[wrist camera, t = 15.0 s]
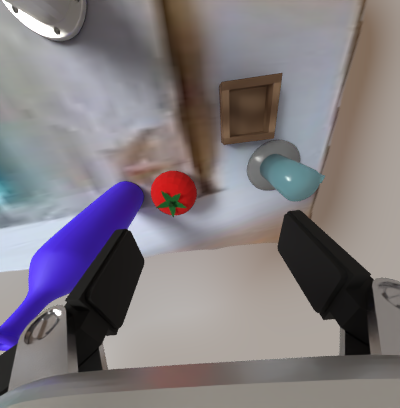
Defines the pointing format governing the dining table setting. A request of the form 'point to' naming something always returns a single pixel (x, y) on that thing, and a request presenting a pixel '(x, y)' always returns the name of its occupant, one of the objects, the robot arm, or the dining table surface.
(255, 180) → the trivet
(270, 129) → the cradle
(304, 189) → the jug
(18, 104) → the dining table surface
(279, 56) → the dining table surface
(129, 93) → the dining table surface
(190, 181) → the tomato
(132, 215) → the bottle
